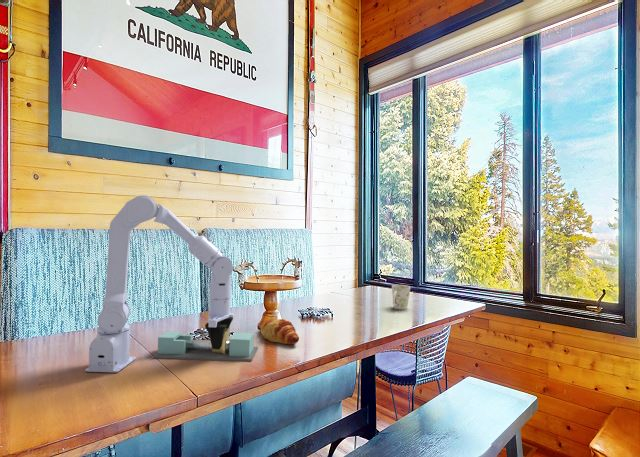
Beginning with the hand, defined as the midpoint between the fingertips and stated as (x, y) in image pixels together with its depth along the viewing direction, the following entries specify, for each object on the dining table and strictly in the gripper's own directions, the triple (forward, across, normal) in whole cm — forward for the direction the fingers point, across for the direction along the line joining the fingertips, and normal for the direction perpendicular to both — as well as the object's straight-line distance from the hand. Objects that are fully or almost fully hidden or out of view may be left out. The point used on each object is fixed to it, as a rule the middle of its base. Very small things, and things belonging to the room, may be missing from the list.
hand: (219, 345), depth 105 cm
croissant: (+3, +16, -15) cm, 22 cm away
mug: (+2, +63, -64) cm, 90 cm away
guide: (+2, 0, +3) cm, 4 cm away
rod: (+1, 0, +1) cm, 2 cm away
